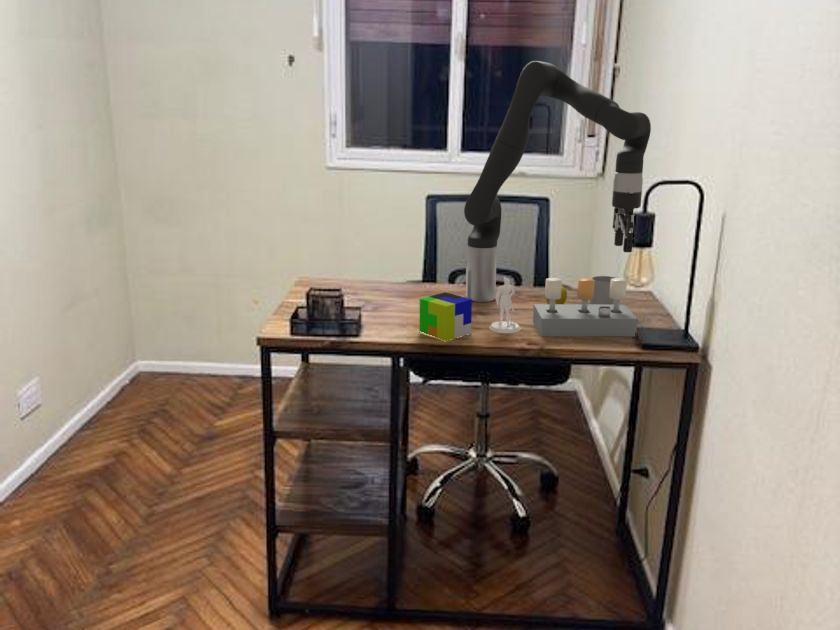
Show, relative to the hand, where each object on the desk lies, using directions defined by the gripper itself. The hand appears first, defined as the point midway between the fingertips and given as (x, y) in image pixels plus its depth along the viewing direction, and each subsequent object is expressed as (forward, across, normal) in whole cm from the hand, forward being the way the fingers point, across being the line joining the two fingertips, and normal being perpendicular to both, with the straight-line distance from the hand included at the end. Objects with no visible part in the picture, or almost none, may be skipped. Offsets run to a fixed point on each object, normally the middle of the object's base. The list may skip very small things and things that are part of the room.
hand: (622, 248), depth 207 cm
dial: (+18, +5, -5) cm, 19 cm away
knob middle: (+18, +1, -10) cm, 20 cm away
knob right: (+18, +1, -1) cm, 18 cm away
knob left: (+17, +1, -19) cm, 26 cm away
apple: (+23, -19, -14) cm, 33 cm away
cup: (+23, -16, 0) cm, 28 cm away
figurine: (+23, 0, -32) cm, 39 cm away
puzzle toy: (+23, +5, -49) cm, 54 cm away
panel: (+23, +1, -10) cm, 25 cm away
